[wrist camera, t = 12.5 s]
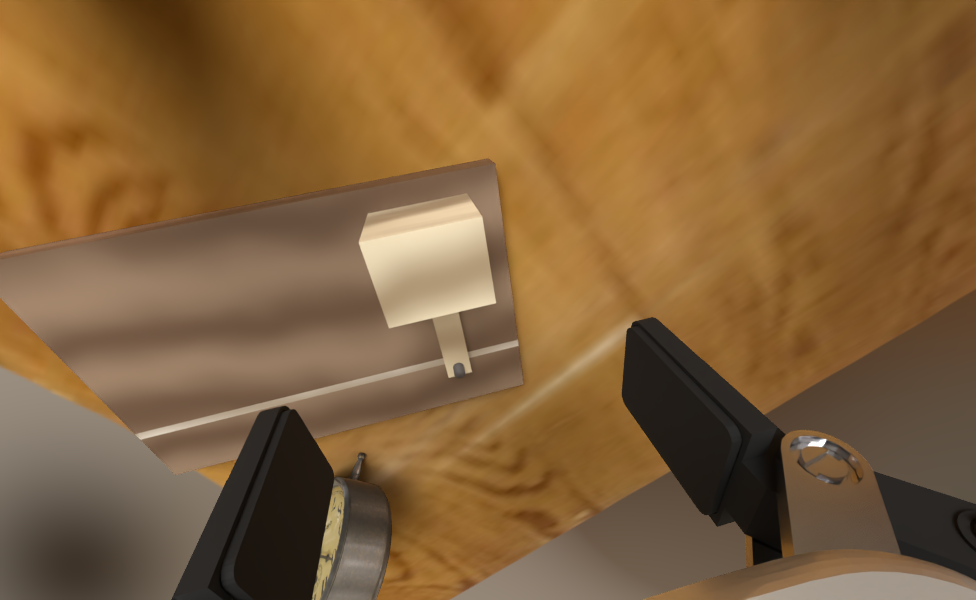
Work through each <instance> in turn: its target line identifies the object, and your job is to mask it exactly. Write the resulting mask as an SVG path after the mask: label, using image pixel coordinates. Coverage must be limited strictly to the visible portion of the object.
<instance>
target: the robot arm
mask: <svg viewBox="0 0 976 600" xmlns="http://www.w3.org/2000/svg"><path fill="white" fill-rule="evenodd" d="M622 398H623V401H624V403H625V405H626V407H627V408H628V410H629V411H630V413H631V414H632V415H633V417H634V418H635V420H636V421H637V423H638V424H639V425H640V427H641V428H642V430H643V431H644V433H645V434H646V435H647V437H648V438H649V440H650V441H651V443H652V444H653V445H654V447H655V448H656V450H657V451H658V453H659V454H660V455H661V457H662V458H663V460H664V461H665V463H666V464H667V465H668V467H669V468H670V470H671V471H672V473H673V474H674V475H675V477H676V478H677V480H678V481H679V482H680V484H681V485H682V487H683V488H684V490H685V491H686V493H687V494H688V495H689V497H690V498H691V500H692V501H693V503H694V504H695V505H696V507H697V508H698V509H699V511H700V512H701V513H702V514H704V515H709V516H710V517H711V519H712V520H713V522H714V523H715V524H716V526H721V525H724V524H727V523H731V522H734V521H735V522H736V523H737V524H738V526H739V527H740V528H741V529H742V531H743V532H744V534H745V535H746V567H747V568H745V569H741V570H738V571H734V572H731V573H728V574H724V575H720V576H717V577H713V578H710V579H706V580H703V581H701V582H697V583H694V584H690V585H688V586H684V587H681V588H678V589H675V590H672V591H669V592H665V593H662V594H659V595H655V596H652V597H649V598H646V599H643V600H976V504H973V503H970V502H967V501H964V500H961V499H958V498H955V497H952V496H949V495H945V494H942V493H939V492H936V491H933V490H930V489H927V488H924V487H920V486H917V485H914V484H911V483H908V482H905V481H902V480H899V479H896V478H893V477H889V476H886V475H883V474H880V473H877V472H874V471H873V470H872V469H871V467H870V465H869V463H868V462H867V461H866V460H865V459H864V458H863V457H862V456H861V454H860V453H859V452H857V451H856V450H855V449H853V448H852V447H850V446H849V445H848V444H846V443H844V442H842V441H840V440H838V439H837V438H835V437H833V436H830V435H826V434H823V433H821V432H817V431H810V430H795V431H792V432H790V433H787V434H784V433H783V432H782V431H781V430H780V429H779V428H777V426H776V425H774V424H773V423H772V422H771V421H770V420H769V419H768V418H767V417H765V416H764V415H763V414H762V413H761V412H760V411H759V410H758V409H757V408H756V407H755V406H753V405H752V404H751V403H750V402H749V401H748V400H747V399H746V398H745V397H743V396H742V395H741V394H740V393H739V392H738V391H737V390H736V389H735V388H733V387H732V386H731V385H730V384H729V383H728V382H727V381H726V380H725V379H723V378H722V377H721V376H720V375H719V374H718V373H717V372H716V371H715V370H713V369H712V368H711V367H710V366H709V365H708V364H707V363H706V362H705V361H703V360H702V359H701V358H700V357H699V356H697V355H696V354H695V353H694V352H693V351H692V350H691V349H690V348H689V347H687V346H686V345H685V344H684V343H683V342H682V341H681V340H680V339H679V338H677V337H676V336H675V335H674V334H673V333H672V332H671V331H670V330H669V329H668V328H666V327H665V326H664V325H663V324H662V323H661V322H660V321H659V320H658V319H656V318H653V317H651V318H647V319H643V320H639V321H635V322H633V323H632V326H631V328H628V330H627V334H626V347H625V360H624V372H623V385H622ZM333 484H334V473H333V470H332V468H331V466H330V464H329V463H328V461H327V459H326V458H325V456H324V455H323V453H322V451H321V450H320V448H319V446H318V445H317V443H316V441H315V440H314V438H313V437H312V435H311V433H310V432H309V430H308V428H307V427H306V425H305V423H304V422H303V420H302V419H301V417H300V415H299V414H298V412H297V411H296V410H295V409H291V410H290V409H289V407H287V406H280V407H276V408H272V409H268V410H263V411H261V412H260V413H259V414H258V416H257V418H256V420H255V422H254V424H253V426H252V428H251V430H250V433H249V435H248V437H247V439H246V441H245V443H244V446H243V448H242V450H241V452H240V454H239V456H238V459H237V461H236V463H235V465H234V467H233V469H232V471H231V474H230V476H229V478H228V480H227V481H226V483H225V485H224V488H223V490H222V492H221V494H220V496H219V498H218V500H217V503H216V505H215V507H214V509H213V511H212V513H211V515H210V518H209V520H208V522H207V524H206V526H205V529H204V531H203V533H202V535H201V537H200V539H199V541H198V543H197V546H196V548H195V550H194V552H193V554H192V557H191V559H190V561H189V563H188V565H187V567H186V569H185V571H184V574H183V576H182V578H181V580H180V583H179V584H178V587H177V589H176V591H175V593H174V596H173V597H172V600H312V596H313V591H314V586H315V580H316V575H317V570H318V564H319V559H320V554H321V548H322V543H323V538H324V532H325V527H326V522H327V516H328V511H329V506H330V500H331V495H332V490H333Z"/></svg>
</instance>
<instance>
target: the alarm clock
mask: <svg viewBox="0 0 976 600" xmlns="http://www.w3.org/2000/svg"><path fill="white" fill-rule="evenodd" d="M364 458H365V454H364V453H359V454H358V461H357V463H356V464H355V466H354V468H353V471H352V475H351V476H350V477H349V478H342V477H334V484H333V490H332V495H331V500H330V506H329V511H328V516H327V522H326V527H325V532H324V538H323V543H322V548H321V554H320V559H319V564H318V570H317V575H316V580H315V586H314V591H313V596H312V600H376V599H377V596H378V594H379V591H380V588H381V585H382V582H383V579H384V575H385V572H386V568H387V563H388V558H389V553H390V546H391V535H392V520H391V511H390V506H389V502H388V499H387V497H386V495H385V493H384V492H383V491H382V489H381V488H380V487H379V486H377V485H374V484H370V483H366V482H361V481H359V475H360V472H361V466H362V460H363V459H364Z"/></svg>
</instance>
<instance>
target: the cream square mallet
mask: <svg viewBox="0 0 976 600" xmlns="http://www.w3.org/2000/svg"><path fill="white" fill-rule="evenodd" d="M359 245H360V248H361V251H362V254H363V257H364V259H365V262H366V265H367V268H368V271H369V273H370V276H371V279H372V282H373V285H374V288H375V290H376V293H377V296H378V299H379V302H380V304H381V307H382V310H383V313H384V316H385V318H386V321H387V324H388V327H389V328H393V327H397V326H401V325H406V324H410V323H414V322H418V321H423V320H427V319H431V318H432V319H433V323H434V326H435V330H436V333H437V337H438V341H439V344H440V348H441V352H442V355H443V359H444V363H445V366H446V370H447V374H448V377H449V378H451V377H454V376H455V377H456V378H463V377H464V376H465V374H466V373H470V372H472V370H471V365H470V361H469V356H468V352H467V347H466V343H465V339H464V334H463V330H462V325H461V321H460V317H459V312H461V311H465V310H469V309H474V308H478V307H482V306H486V305H491V304H495V303H496V299H495V293H494V287H493V280H492V274H491V268H490V262H489V255H488V249H487V243H486V237H485V230H484V224H483V218H482V215H481V214H480V212H479V211H478V209H477V208H476V206H475V205H474V203H473V202H472V200H471V199H470V197H469V196H468V194H462V195H457V196H452V197H447V198H442V199H437V200H432V201H427V202H422V203H417V204H412V205H407V206H403V207H398V208H393V209H388V210H383V211H378V212H373V213H368V215H367V218H366V221H365V224H364V227H363V230H362V233H361V236H360V240H359Z"/></svg>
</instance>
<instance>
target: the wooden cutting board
mask: <svg viewBox="0 0 976 600" xmlns="http://www.w3.org/2000/svg"><path fill="white" fill-rule="evenodd" d="M462 194H468V196H469V197H470V199H471V200H472V202H473V203H474V205H475V206H476V208H477V209H478V211H479V212H480V214H481V215H482V218H483V224H484V230H485V237H486V243H487V249H488V255H489V262H490V268H491V274H492V280H493V287H494V293H495V299H496V303H495V304H491V305H486V306H482V307H478V308H474V309H469V310H465V311H461V312H459V317H460V321H461V325H462V330H463V334H464V339H465V343H466V347H467V352H468V356H469V361H470V365H471V370H472V372H470V373H466V374H465V376H464V377H463V378H456V377H455V376H454V377H451V378H449V377H448V374H447V370H446V366H445V363H444V359H443V355H442V352H441V348H440V344H439V341H438V337H437V333H436V330H435V326H434V323H433V319H432V318H431V319H427V320H423V321H418V322H414V323H410V324H406V325H401V326H397V327H393V328H389V327H388V324H387V321H386V318H385V316H384V313H383V310H382V307H381V304H380V302H379V299H378V296H377V293H376V290H375V288H374V285H373V282H372V279H371V276H370V273H369V271H368V268H367V265H366V262H365V259H364V257H363V254H362V251H361V248H360V245H359V240H360V236H361V233H362V230H363V227H364V224H365V221H366V218H367V215H368V213H373V212H378V211H383V210H388V209H393V208H398V207H403V206H407V205H412V204H417V203H422V202H427V201H432V200H437V199H442V198H447V197H452V196H457V195H462ZM0 298H1V299H2V300H3V301H4V302H5V303H6V304H7V305H8V306H9V307H10V308H11V309H12V310H13V311H14V312H15V313H16V314H17V315H18V316H19V317H20V318H21V319H22V320H23V321H24V323H25V324H26V325H27V326H28V327H29V328H30V329H31V330H32V331H33V332H34V333H35V334H36V335H37V336H38V337H39V338H40V339H41V340H42V341H43V342H44V343H45V344H46V345H47V346H48V347H49V348H50V349H51V350H52V351H53V352H54V353H55V354H56V355H57V356H58V357H59V358H60V359H61V360H62V361H63V362H64V363H65V364H66V365H67V366H68V367H69V368H70V369H71V370H72V371H73V372H74V373H75V374H76V375H77V376H78V377H79V378H80V379H81V380H82V381H83V382H84V383H85V384H86V385H87V386H88V387H89V388H90V389H91V390H92V391H93V392H94V393H95V394H96V395H97V396H98V397H99V398H100V399H101V400H102V401H103V402H104V403H105V404H106V405H107V406H108V407H109V408H110V409H111V410H112V411H113V412H114V413H115V414H116V415H117V416H118V417H119V418H120V419H121V420H122V421H123V422H124V423H125V424H126V425H127V427H128V428H129V429H130V430H131V431H132V432H133V433H134V434H135V435H136V436H137V437H138V438H139V439H140V440H141V441H143V443H144V444H145V445H146V446H147V447H148V448H150V450H151V451H152V452H153V453H154V454H156V456H157V457H158V458H159V459H160V460H161V461H162V462H163V463H164V464H165V465H166V466H167V467H168V468H169V469H170V470H171V471H172V472H173V473H174V474H175V475H177V474H181V473H185V472H189V471H193V470H197V469H200V468H204V467H208V466H212V465H216V464H220V463H223V462H227V461H231V460H235V459H238V456H239V454H240V452H241V450H242V448H243V446H244V443H245V441H246V439H247V437H248V435H249V433H250V430H251V428H252V426H253V424H254V422H255V420H256V418H257V416H258V414H259V413H260V412H261V411H263V410H268V409H272V408H276V407H280V406H287V407H289V409H290V410H291V409H295V410H296V411H297V412H298V414H299V415H300V417H301V419H302V420H303V422H304V423H305V425H306V427H307V428H308V430H309V432H310V433H311V435H312V437H313V438H314V439H316V438H320V437H323V436H327V435H331V434H335V433H339V432H343V431H347V430H350V429H354V428H358V427H362V426H366V425H370V424H373V423H377V422H381V421H385V420H389V419H393V418H397V417H400V416H404V415H408V414H412V413H416V412H420V411H423V410H427V409H431V408H435V407H439V406H443V405H447V404H450V403H454V402H458V401H462V400H466V399H470V398H473V397H477V396H481V395H485V394H489V393H493V392H497V391H500V390H504V389H508V388H512V387H516V386H520V385H523V384H524V383H523V375H522V367H521V359H520V352H519V344H518V336H517V329H516V321H515V313H514V305H513V298H512V290H511V282H510V274H509V267H508V259H507V251H506V244H505V236H504V228H503V220H502V213H501V205H500V197H499V189H498V182H497V174H496V166H495V163H494V162H492V161H491V160H490V159H484V160H478V161H473V162H468V163H463V164H458V165H452V166H447V167H442V168H437V169H432V170H426V171H421V172H416V173H411V174H406V175H400V176H395V177H390V178H385V179H380V180H375V181H369V182H364V183H359V184H354V185H349V186H343V187H338V188H333V189H328V190H323V191H317V192H312V193H307V194H302V195H297V196H291V197H286V198H281V199H276V200H271V201H265V202H260V203H255V204H250V205H245V206H239V207H234V208H229V209H224V210H219V211H213V212H208V213H203V214H198V215H193V216H188V217H182V218H177V219H172V220H167V221H162V222H156V223H151V224H146V225H141V226H136V227H130V228H125V229H120V230H115V231H110V232H104V233H99V234H94V235H89V236H84V237H78V238H73V239H68V240H63V241H58V242H52V243H47V244H42V245H37V246H32V247H26V248H21V249H16V250H11V251H6V252H3V253H0Z"/></svg>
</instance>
